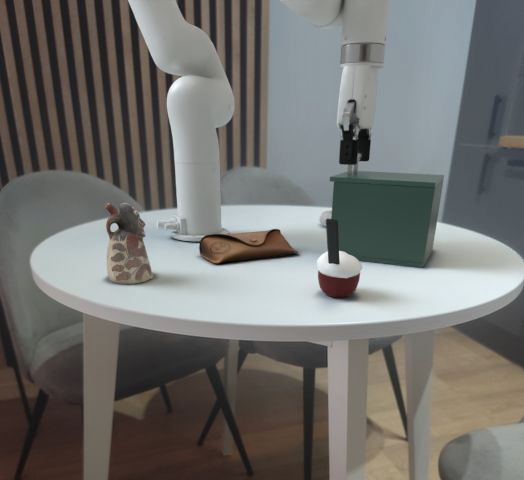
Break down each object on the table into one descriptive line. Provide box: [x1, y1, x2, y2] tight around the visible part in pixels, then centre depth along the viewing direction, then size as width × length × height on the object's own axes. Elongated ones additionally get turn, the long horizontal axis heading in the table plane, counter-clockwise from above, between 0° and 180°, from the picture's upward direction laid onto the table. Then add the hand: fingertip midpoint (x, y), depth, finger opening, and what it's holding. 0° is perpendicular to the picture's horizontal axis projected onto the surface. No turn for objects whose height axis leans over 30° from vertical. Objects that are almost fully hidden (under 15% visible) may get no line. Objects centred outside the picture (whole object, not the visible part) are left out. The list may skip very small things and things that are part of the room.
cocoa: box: [315, 219, 363, 299], centre depth 72 cm, size 10×6×12 cm, turn 131°
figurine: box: [104, 202, 154, 285], centre depth 79 cm, size 7×7×12 cm
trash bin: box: [331, 179, 444, 269], centre depth 96 cm, size 18×15×14 cm
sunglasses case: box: [198, 228, 298, 264], centre depth 96 cm, size 18×7×7 cm
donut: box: [318, 209, 332, 228], centre depth 124 cm, size 10×3×10 cm
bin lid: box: [329, 150, 445, 187], centre depth 92 cm, size 18×15×5 cm
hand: (354, 162), depth 94 cm, fingers open, 9 cm apart
